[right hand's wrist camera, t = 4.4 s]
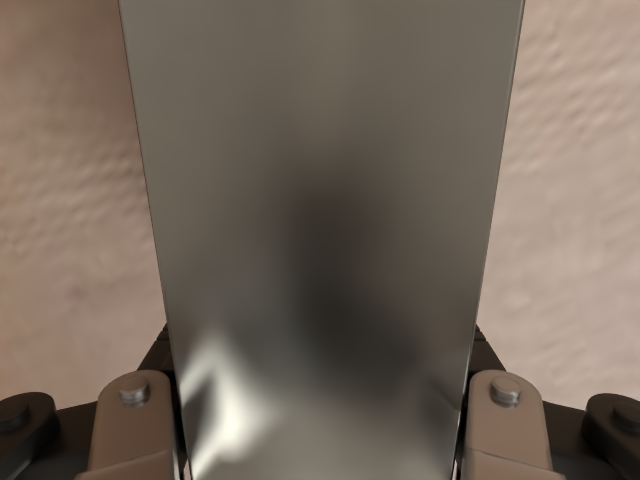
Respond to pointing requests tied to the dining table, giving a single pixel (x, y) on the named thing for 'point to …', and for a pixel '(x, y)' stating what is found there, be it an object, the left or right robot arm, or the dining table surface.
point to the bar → (321, 222)
